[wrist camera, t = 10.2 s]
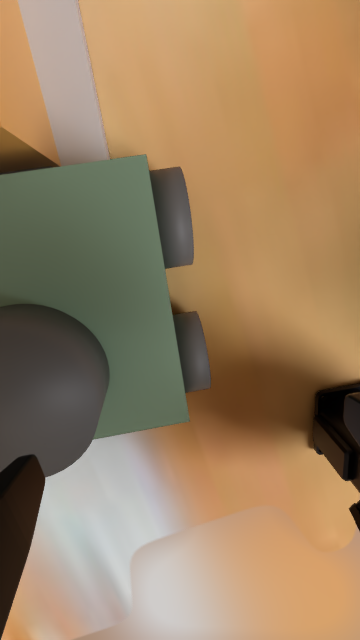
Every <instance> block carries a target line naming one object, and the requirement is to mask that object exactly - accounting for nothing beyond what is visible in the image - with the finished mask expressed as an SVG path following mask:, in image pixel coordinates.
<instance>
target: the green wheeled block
mask: <svg viewBox="0 0 360 640" xmlns="http://www.w3.org/2000/svg"><path fill="white" fill-rule="evenodd" d="M18 4H19V8H20V12H21V15H22V19H23V23H24V27H25V31H26V34H27V38H28V42H29V46H30V50H31V53H32V57H33V61H34V65H35V69H36V72H37V76H38V80H39V84H40V88H41V91H42V95H43V99H44V103H45V107H46V110H47V114H48V118H49V122H50V126H51V129H52V133H53V137H54V141H55V145H56V148H57V152H58V156H59V160H60V164H61V166H60V167H52V166H46V167H39V168H32V169H25V170H18V171H11V172H4V173H0V472H1V471H2V470H3V469H5V468H6V467H7V466H8V465H9V464H10V463H12V462H13V461H14V460H15V459H16V458H18V457H20V456H24V455H29V454H34V455H36V456H37V458H38V461H39V463H40V465H41V468H42V470H43V472H44V475H45V477H48V476H51V475H54V474H56V473H58V472H60V471H62V470H64V469H65V468H67V467H69V466H70V465H72V464H73V463H74V462H75V461H76V460H78V459H79V458H80V457H81V456H82V455H83V453H84V452H85V451H86V450H87V448H88V447H89V445H90V444H91V442H92V440H93V439H98V438H104V437H109V436H114V435H120V434H125V433H130V432H136V431H141V430H147V429H152V428H157V427H163V426H168V425H173V424H179V423H184V422H189V421H190V419H189V413H188V407H187V401H186V395H185V393H187V392H192V391H198V390H203V389H209V388H210V387H211V376H210V366H209V359H208V353H207V348H206V343H205V338H204V333H203V329H202V325H201V322H200V319H199V316H198V313H197V312H196V311H194V312H188V313H182V314H176V315H172V309H171V303H170V297H169V291H168V285H167V279H166V272H165V269H167V268H173V267H179V266H185V265H192V263H193V258H194V245H193V230H192V220H191V212H190V205H189V199H188V193H187V188H186V183H185V179H184V175H183V172H182V170H181V168H180V167H173V168H166V169H160V170H153V171H149V168H148V162H147V156H146V154H145V155H138V156H131V157H124V158H117V159H110V156H109V151H108V146H107V141H106V136H105V131H104V126H103V122H102V117H101V112H100V107H99V102H98V97H97V92H96V87H95V82H94V77H93V72H92V68H91V63H90V58H89V53H88V48H87V43H86V38H85V33H84V28H83V23H82V18H81V13H80V9H79V4H78V0H18Z"/></svg>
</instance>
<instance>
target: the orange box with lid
mask: <svg viewBox="0 0 360 640" xmlns="http://www.w3.org/2000/svg"><path fill="white" fill-rule="evenodd" d="M46 166H52V167H60V166H61V164H60V160H59V156H58V152H57V148H56V145H55V141H54V137H53V133H52V129H51V126H50V122H49V118H48V114H47V110H46V107H45V103H44V99H43V95H42V91H41V88H40V84H39V80H38V76H37V72H36V69H35V65H34V61H33V57H32V53H31V50H30V46H29V42H28V38H27V34H26V31H25V27H24V23H23V19H22V15H21V12H20V8H19V4H18V0H0V173H4V172H11V171H18V170H25V169H32V168H39V167H46Z"/></svg>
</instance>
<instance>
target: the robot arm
mask: <svg viewBox="0 0 360 640" xmlns="http://www.w3.org/2000/svg"><path fill="white" fill-rule="evenodd" d="M322 396H324V397H323V398H321V397H322ZM313 441H314V450H315V451H316V453H317V454H319V455H322V454H324V456H325V457H326V458H327V460H328V461H329V462H330V463H331V465H332V466H333V467H334V469H335V470H336V471H337V473H338V474H339V475H340V477H341V478H342V479H343V480H345V481H351V482H352V484H353V485H354V486H355V487H356V489H357V490H358V491H359V492H360V383H359V384H354V385H348V386H343V387H337V388H332V389H327V390H321V391H319V392H317V394H316V396H315V416H314V418H313ZM44 486H45V475H44V472H43V470H42V468H41V465H40V463H39V461H38V458H37V456H36V455H34V454H29V455H24V456H20V457H18V458H16V459H15V460H14V461H13V462H12V463H10V464H9V465H8V466H7V467H6V468H5V469H3V470H2V471H1V472H0V640H1V637H2V634H3V631H4V628H5V625H6V622H7V619H8V616H9V613H10V609H11V606H12V603H13V600H14V597H15V594H16V591H17V588H18V585H19V582H20V579H21V575H22V572H23V569H24V566H25V563H26V560H27V557H28V553H29V550H30V547H31V543H32V539H33V535H34V530H35V526H36V521H37V517H38V513H39V508H40V504H41V499H42V495H43V491H44ZM349 510H350V512H351V514H352V516H353V518H354V520H355V523H356V525H357V527H358V529H359V531H360V500H359V501H358V502H357V503H354V504H353V505H352V506H351V507H350V508H349Z"/></svg>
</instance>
